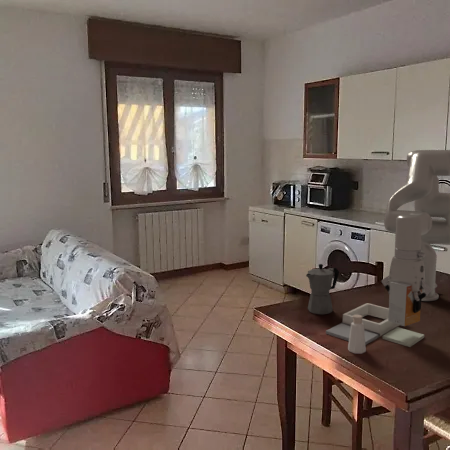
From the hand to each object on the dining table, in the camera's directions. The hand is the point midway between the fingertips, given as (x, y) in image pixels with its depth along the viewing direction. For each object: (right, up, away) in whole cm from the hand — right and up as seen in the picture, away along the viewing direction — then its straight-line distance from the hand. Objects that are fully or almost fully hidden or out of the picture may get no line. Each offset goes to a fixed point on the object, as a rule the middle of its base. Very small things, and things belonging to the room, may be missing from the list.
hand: (404, 308), depth 150 cm
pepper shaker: (-17, -12, -6) cm, 22 cm away
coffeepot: (-20, -6, +29) cm, 36 cm away
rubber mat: (0, -10, +2) cm, 10 cm away
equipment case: (-9, -9, +10) cm, 16 cm away
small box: (0, -4, +1) cm, 4 cm away
